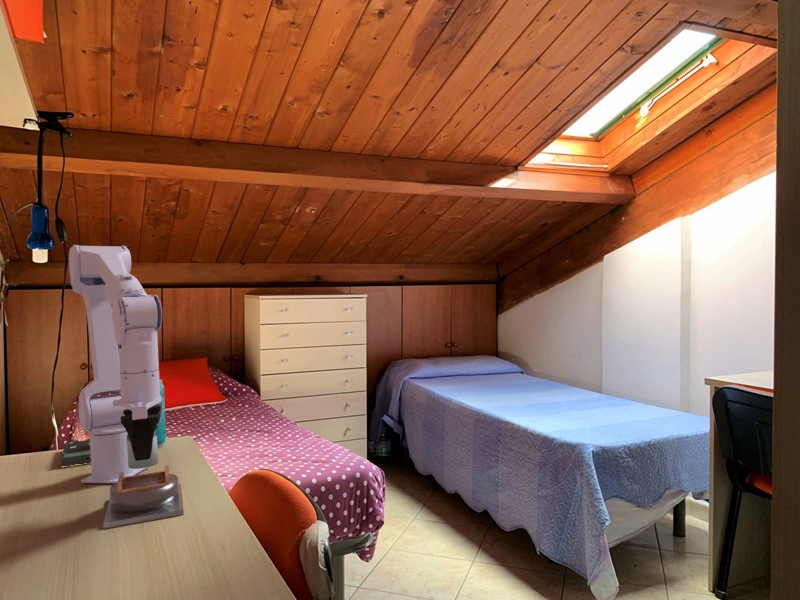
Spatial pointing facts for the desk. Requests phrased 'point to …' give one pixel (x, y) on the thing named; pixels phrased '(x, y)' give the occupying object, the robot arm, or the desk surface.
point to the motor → (143, 498)
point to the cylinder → (142, 463)
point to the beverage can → (161, 420)
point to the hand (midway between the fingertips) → (143, 455)
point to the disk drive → (76, 453)
